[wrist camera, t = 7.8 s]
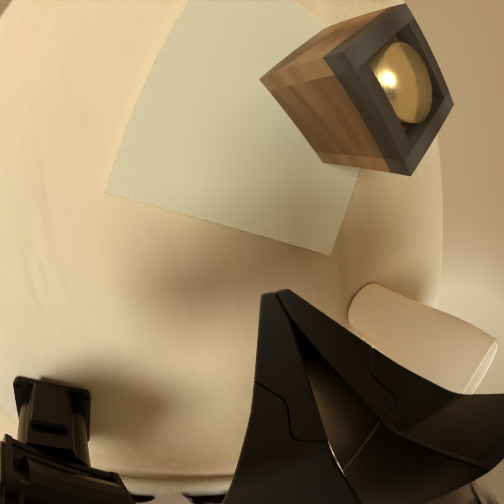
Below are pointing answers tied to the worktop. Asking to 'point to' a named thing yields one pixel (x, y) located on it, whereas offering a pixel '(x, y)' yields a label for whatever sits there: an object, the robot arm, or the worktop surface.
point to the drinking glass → (423, 338)
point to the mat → (231, 129)
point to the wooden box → (357, 94)
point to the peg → (403, 80)
